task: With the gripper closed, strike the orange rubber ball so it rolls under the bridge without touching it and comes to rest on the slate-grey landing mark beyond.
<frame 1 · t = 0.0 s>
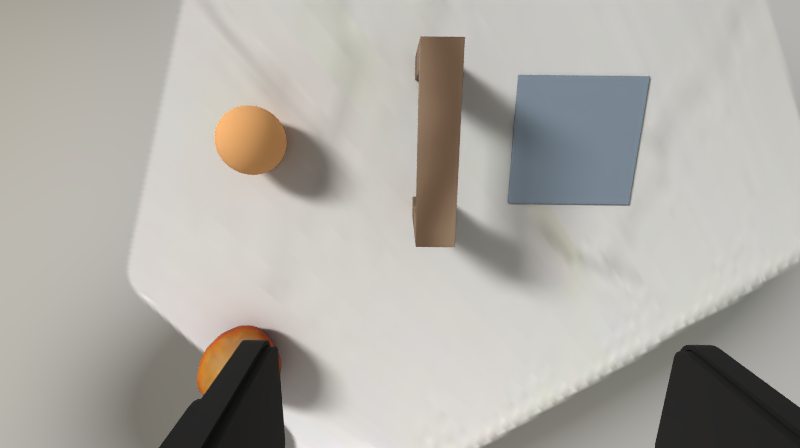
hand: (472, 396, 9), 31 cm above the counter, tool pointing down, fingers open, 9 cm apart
bridge: (429, 140, 38), on the counter
landing mark: (575, 142, 38), on the counter
fruit: (253, 348, 45), on the counter
ball: (251, 140, 36), on the counter
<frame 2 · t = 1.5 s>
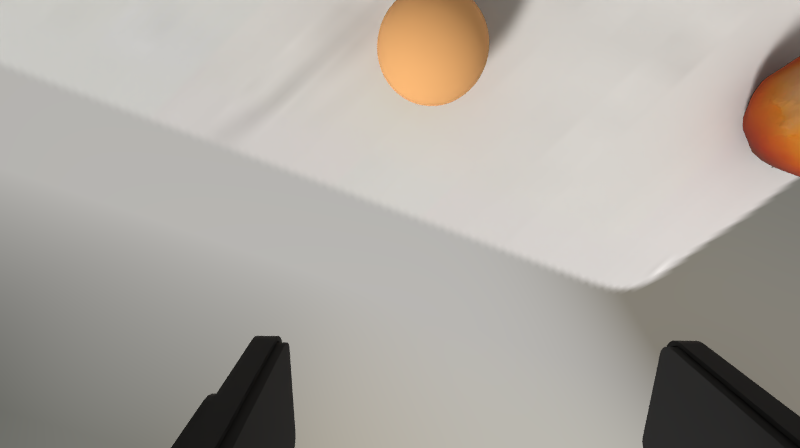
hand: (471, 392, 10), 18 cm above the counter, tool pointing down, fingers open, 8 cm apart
fruit: (784, 112, 26), on the counter
ball: (432, 48, 22), on the counter
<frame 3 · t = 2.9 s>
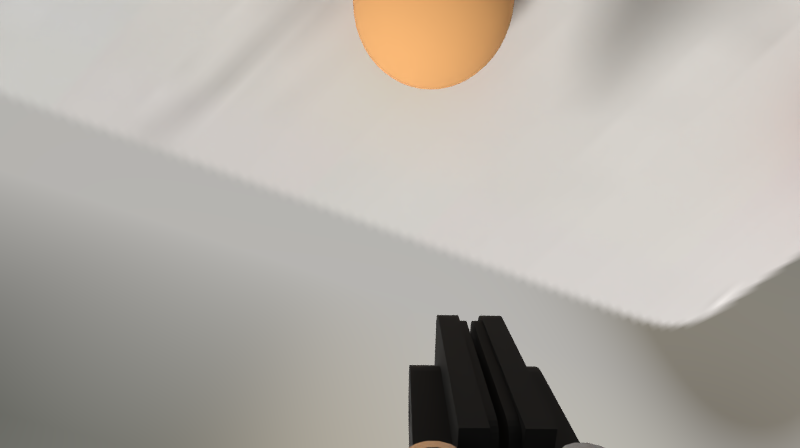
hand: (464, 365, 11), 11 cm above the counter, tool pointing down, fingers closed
ball: (432, 6, 15), on the counter
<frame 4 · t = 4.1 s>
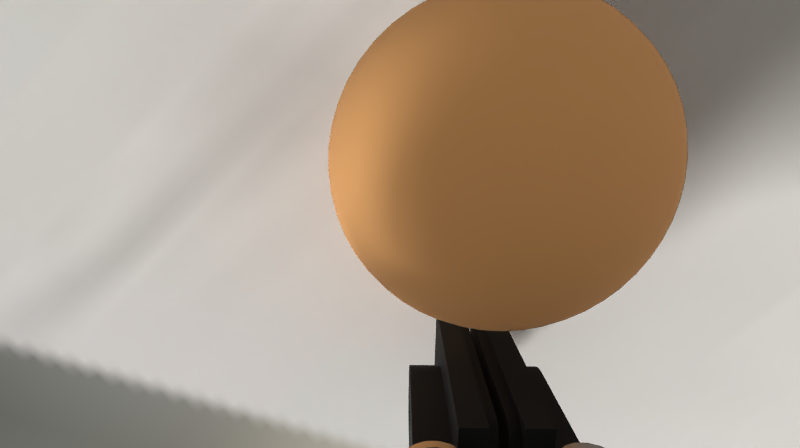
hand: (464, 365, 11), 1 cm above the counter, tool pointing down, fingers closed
ball: (490, 165, 8), on the counter
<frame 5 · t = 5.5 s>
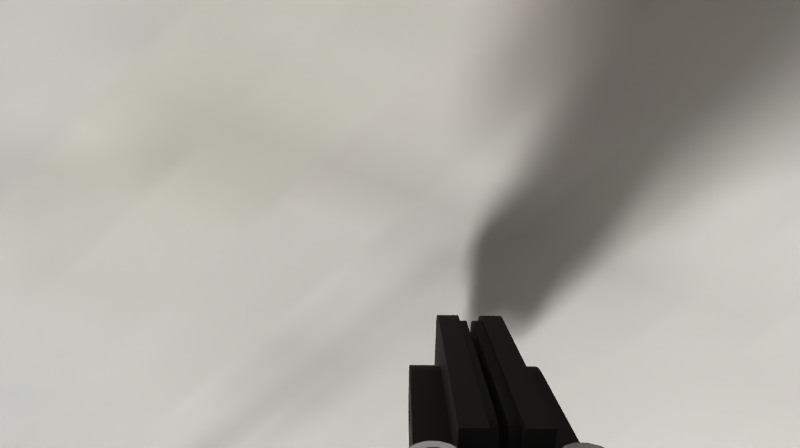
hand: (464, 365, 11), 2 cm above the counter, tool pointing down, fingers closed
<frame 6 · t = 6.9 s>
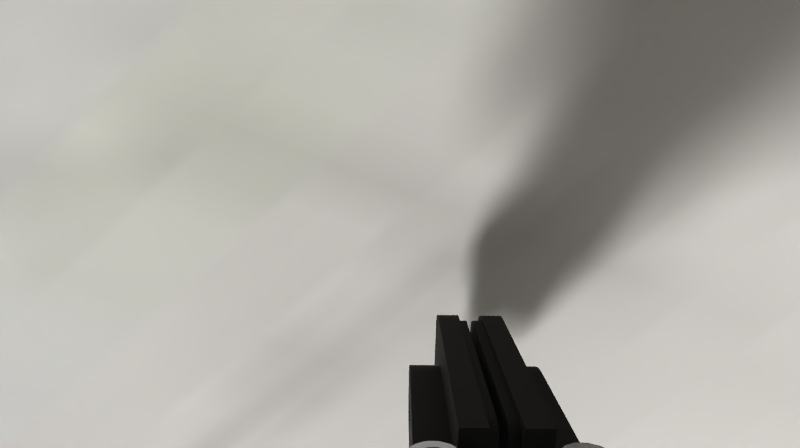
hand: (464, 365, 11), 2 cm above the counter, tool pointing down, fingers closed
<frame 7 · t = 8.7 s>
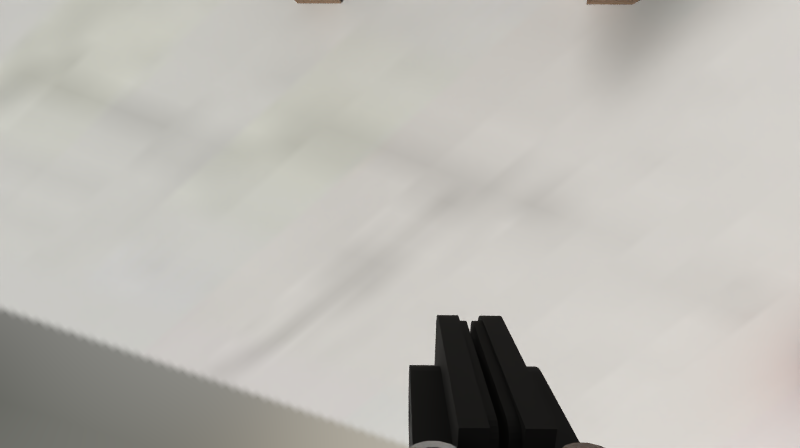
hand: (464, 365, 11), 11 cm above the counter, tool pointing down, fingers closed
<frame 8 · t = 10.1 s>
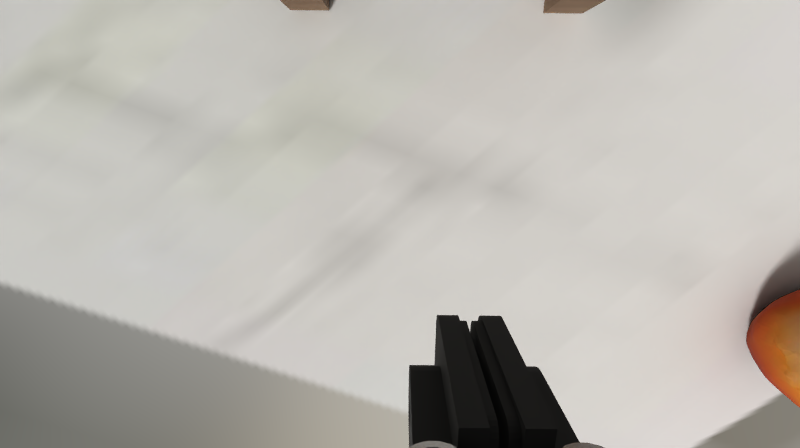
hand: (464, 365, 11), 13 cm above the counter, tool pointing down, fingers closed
fruit: (788, 321, 25), on the counter
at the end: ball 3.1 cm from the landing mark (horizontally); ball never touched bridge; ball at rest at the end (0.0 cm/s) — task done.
